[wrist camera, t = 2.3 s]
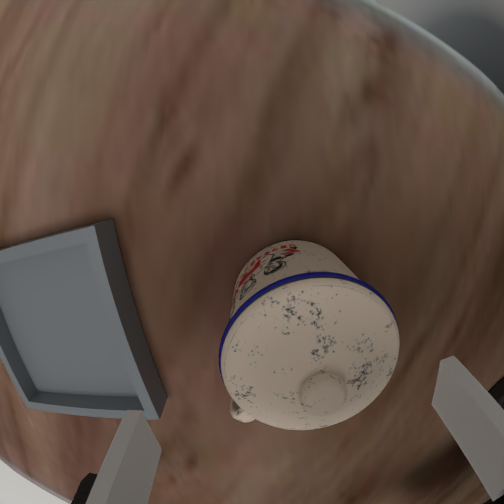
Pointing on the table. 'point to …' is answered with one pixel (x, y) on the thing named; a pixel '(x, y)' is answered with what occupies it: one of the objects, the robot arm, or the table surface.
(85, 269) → the square tray
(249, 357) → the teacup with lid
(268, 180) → the table surface
